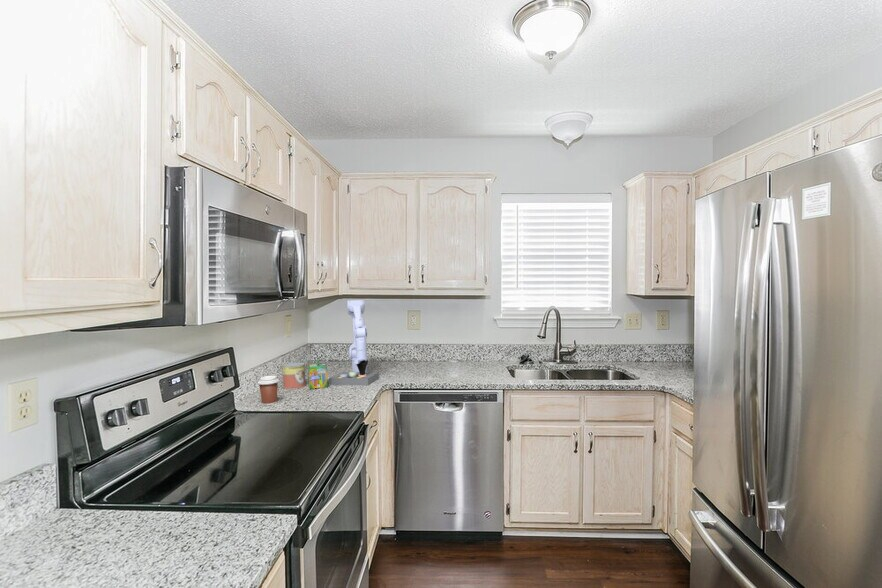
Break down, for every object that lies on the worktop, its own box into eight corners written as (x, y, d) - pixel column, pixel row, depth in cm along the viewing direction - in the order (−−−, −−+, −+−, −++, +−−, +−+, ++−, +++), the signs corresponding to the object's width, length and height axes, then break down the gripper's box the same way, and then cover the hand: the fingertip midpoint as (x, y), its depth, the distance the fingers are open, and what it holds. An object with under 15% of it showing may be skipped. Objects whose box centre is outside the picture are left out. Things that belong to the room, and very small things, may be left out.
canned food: (293, 390, 225) (292, 367, 224) (278, 388, 230) (277, 365, 230) (310, 385, 234) (309, 363, 234) (295, 383, 240) (294, 361, 240)
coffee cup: (283, 400, 205) (282, 374, 205) (275, 405, 196) (273, 379, 196) (264, 400, 205) (262, 375, 205) (255, 406, 196) (253, 379, 196)
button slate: (341, 379, 241) (341, 373, 241) (348, 379, 240) (348, 373, 240) (338, 380, 237) (338, 375, 237) (345, 380, 237) (345, 375, 236)
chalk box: (308, 386, 233) (306, 358, 233) (325, 384, 236) (324, 356, 236) (309, 389, 224) (308, 361, 224) (327, 387, 228) (326, 359, 227)
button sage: (351, 376, 240) (350, 371, 240) (357, 377, 239) (357, 371, 239) (348, 378, 236) (347, 372, 236) (354, 378, 235) (354, 373, 235)
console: (342, 378, 250) (342, 371, 250) (378, 378, 245) (378, 371, 245) (329, 384, 234) (329, 377, 234) (368, 385, 229) (367, 378, 229)
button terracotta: (360, 379, 239) (360, 373, 239) (367, 379, 238) (367, 374, 238) (357, 381, 235) (357, 375, 235) (364, 381, 234) (364, 375, 234)
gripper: (359, 347, 244) (360, 372, 244) (348, 351, 230) (349, 377, 230) (371, 347, 242) (372, 372, 243) (361, 351, 228) (362, 377, 229)
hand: (362, 374), depth 236 cm, fingers closed, pressing on button terracotta
